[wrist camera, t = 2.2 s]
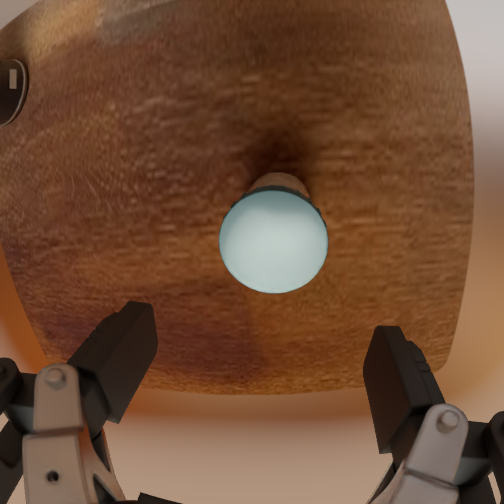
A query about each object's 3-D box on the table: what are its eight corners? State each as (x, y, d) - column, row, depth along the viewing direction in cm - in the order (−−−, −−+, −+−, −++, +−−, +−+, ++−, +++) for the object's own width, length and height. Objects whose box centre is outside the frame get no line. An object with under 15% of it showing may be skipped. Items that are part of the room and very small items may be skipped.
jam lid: (223, 276, 21) (217, 289, 19) (224, 180, 19) (218, 185, 17) (318, 284, 21) (321, 298, 19) (331, 189, 18) (336, 194, 16)
